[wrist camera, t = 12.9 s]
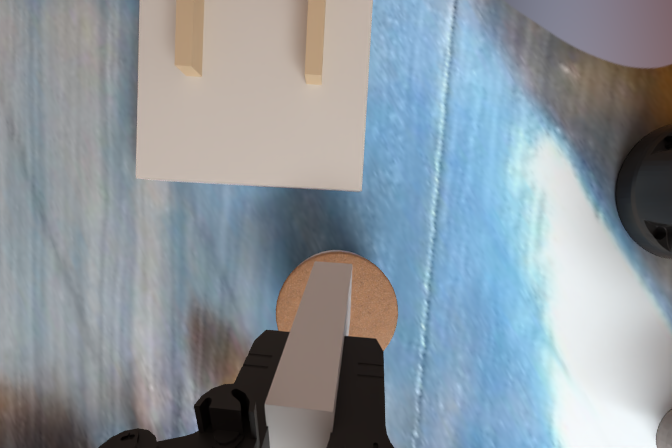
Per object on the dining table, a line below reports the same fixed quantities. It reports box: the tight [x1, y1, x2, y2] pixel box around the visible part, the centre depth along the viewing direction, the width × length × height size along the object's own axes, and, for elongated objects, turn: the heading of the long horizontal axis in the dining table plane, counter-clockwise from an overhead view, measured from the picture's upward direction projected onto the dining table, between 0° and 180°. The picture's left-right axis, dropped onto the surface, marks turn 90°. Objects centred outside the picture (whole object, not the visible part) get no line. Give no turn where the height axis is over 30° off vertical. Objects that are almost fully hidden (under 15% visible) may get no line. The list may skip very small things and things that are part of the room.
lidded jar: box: [276, 250, 398, 351], centre depth 33 cm, size 11×11×9 cm
